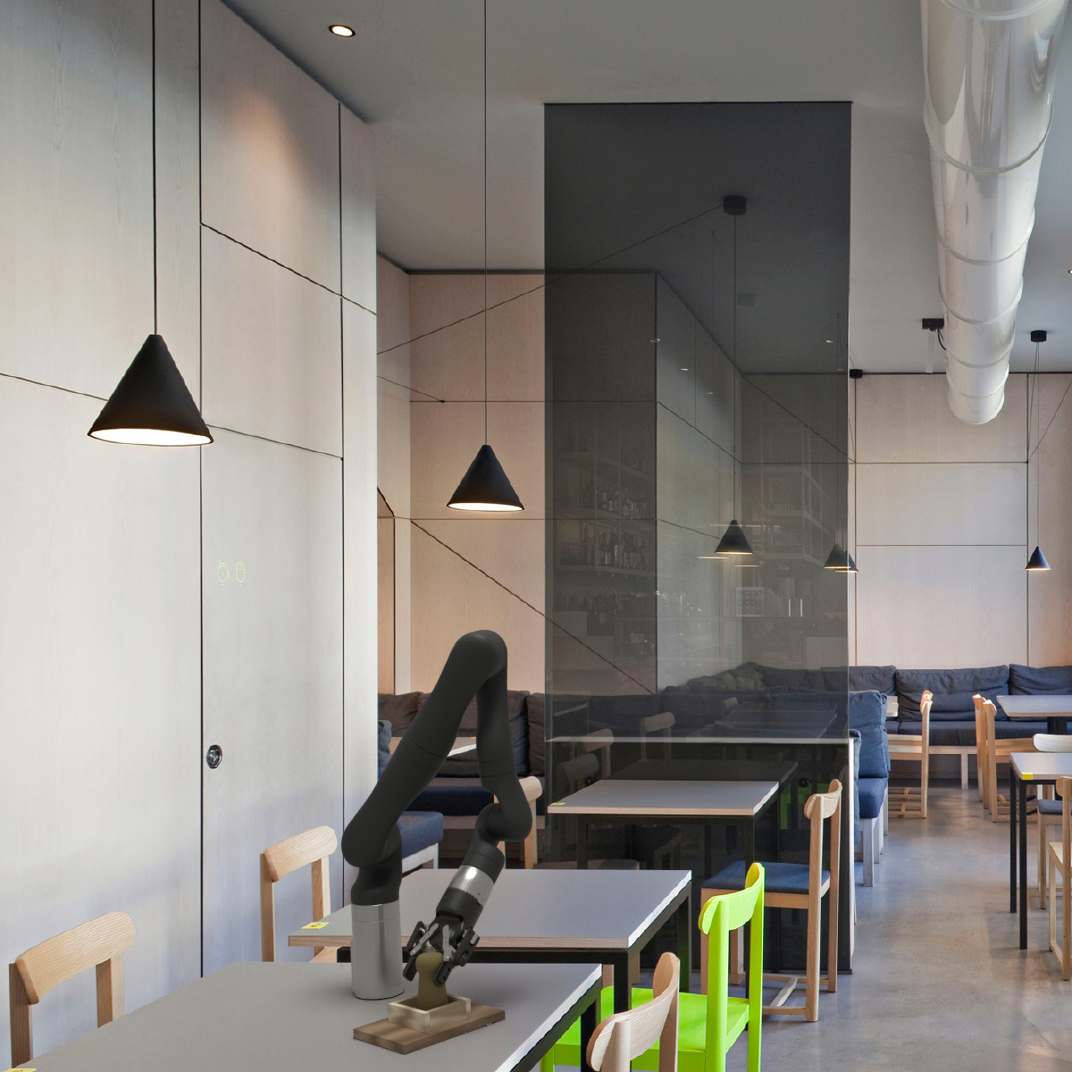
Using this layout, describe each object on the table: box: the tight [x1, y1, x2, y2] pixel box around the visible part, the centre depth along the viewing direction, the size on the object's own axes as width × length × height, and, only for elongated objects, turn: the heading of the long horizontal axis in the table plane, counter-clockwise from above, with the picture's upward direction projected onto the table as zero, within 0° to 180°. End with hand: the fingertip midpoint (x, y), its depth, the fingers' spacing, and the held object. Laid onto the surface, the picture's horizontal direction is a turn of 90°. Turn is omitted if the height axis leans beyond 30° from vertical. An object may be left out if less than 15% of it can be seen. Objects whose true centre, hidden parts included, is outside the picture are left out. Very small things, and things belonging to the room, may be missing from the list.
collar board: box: [352, 992, 506, 1055], centre depth 210 cm, size 14×22×4 cm, turn 134°
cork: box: [415, 951, 449, 1011], centre depth 210 cm, size 6×6×11 cm
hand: (421, 981), depth 209 cm, fingers open, 6 cm apart
